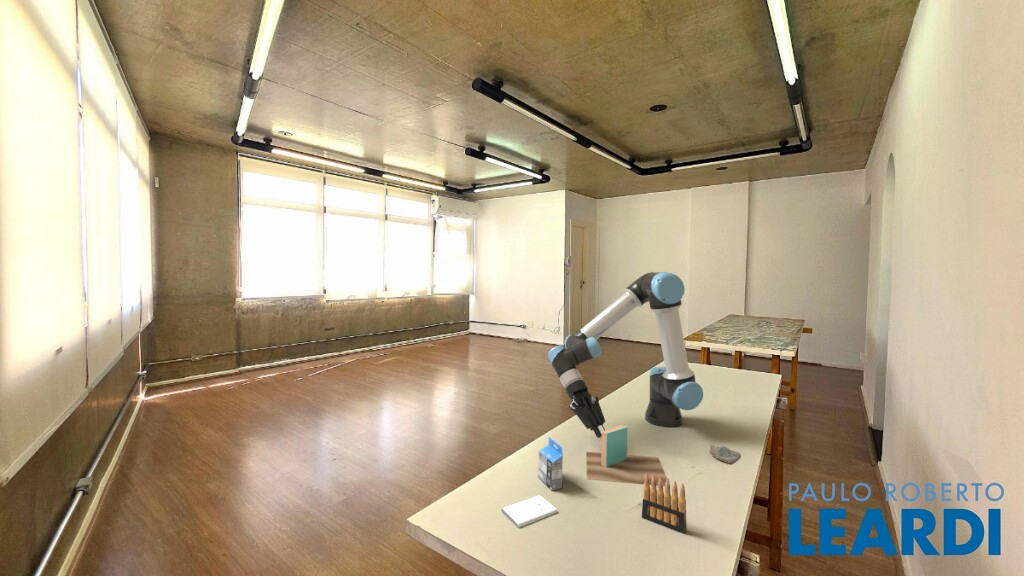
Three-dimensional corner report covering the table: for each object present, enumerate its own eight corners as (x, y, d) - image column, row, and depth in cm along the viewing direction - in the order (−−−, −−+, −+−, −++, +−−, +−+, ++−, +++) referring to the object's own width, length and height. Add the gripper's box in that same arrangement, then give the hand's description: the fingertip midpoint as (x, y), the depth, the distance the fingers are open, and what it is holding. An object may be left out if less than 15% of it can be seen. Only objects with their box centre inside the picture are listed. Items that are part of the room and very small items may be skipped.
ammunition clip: (641, 517, 104) (642, 472, 104) (643, 514, 106) (644, 469, 105) (684, 534, 98) (685, 486, 97) (686, 530, 99) (687, 482, 99)
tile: (601, 464, 131) (601, 431, 130) (621, 456, 137) (622, 424, 136) (606, 467, 129) (607, 433, 128) (626, 459, 135) (627, 427, 134)
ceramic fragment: (712, 442, 147) (742, 448, 140) (713, 451, 147) (743, 457, 139) (699, 450, 140) (729, 456, 133) (700, 460, 140) (730, 466, 132)
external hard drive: (501, 513, 107) (539, 499, 113) (518, 530, 100) (557, 514, 106) (501, 507, 107) (539, 493, 113) (518, 524, 100) (557, 508, 106)
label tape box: (537, 477, 125) (537, 438, 124) (548, 474, 126) (549, 436, 126) (551, 491, 117) (551, 449, 116) (563, 488, 118) (563, 447, 118)
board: (586, 454, 140) (586, 451, 140) (658, 460, 136) (658, 457, 136) (586, 482, 122) (586, 479, 122) (670, 490, 117) (670, 486, 117)
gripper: (581, 386, 153) (614, 445, 140) (555, 392, 146) (588, 455, 133) (591, 376, 149) (627, 435, 135) (565, 381, 141) (600, 445, 128)
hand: (607, 445), depth 134 cm, fingers closed
